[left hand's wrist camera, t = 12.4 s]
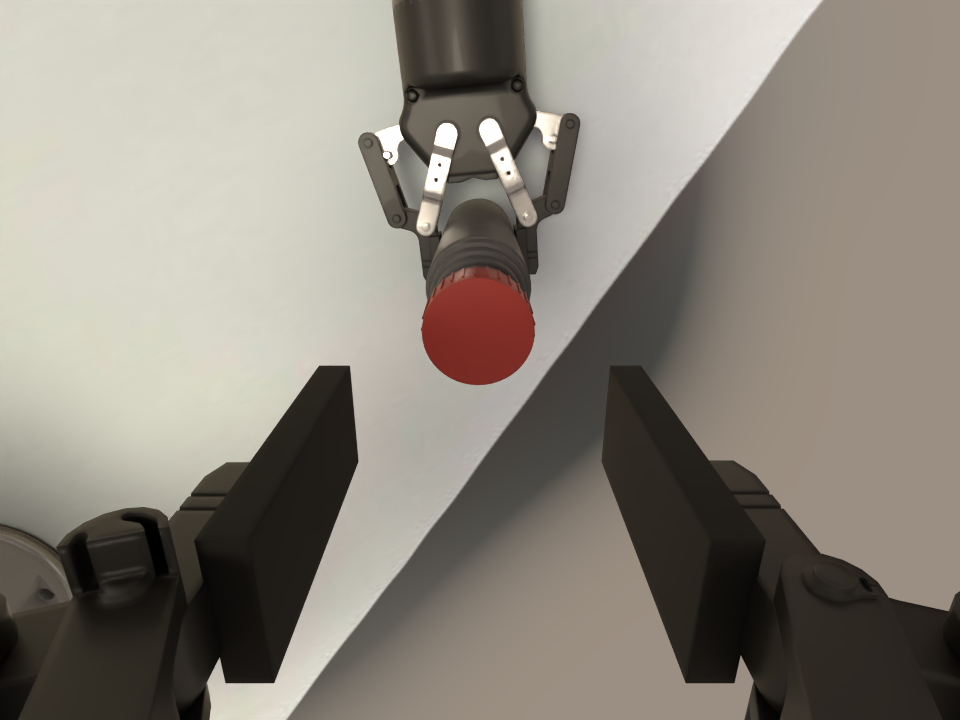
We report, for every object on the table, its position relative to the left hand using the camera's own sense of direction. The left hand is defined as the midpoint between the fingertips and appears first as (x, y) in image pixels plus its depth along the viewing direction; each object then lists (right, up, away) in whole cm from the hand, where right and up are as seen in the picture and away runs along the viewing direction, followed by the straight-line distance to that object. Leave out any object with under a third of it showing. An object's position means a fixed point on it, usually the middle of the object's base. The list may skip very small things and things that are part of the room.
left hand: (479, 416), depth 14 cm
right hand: (0, +7, +25) cm, 25 cm away
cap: (0, +2, +6) cm, 7 cm away
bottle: (0, +11, +29) cm, 32 cm away
